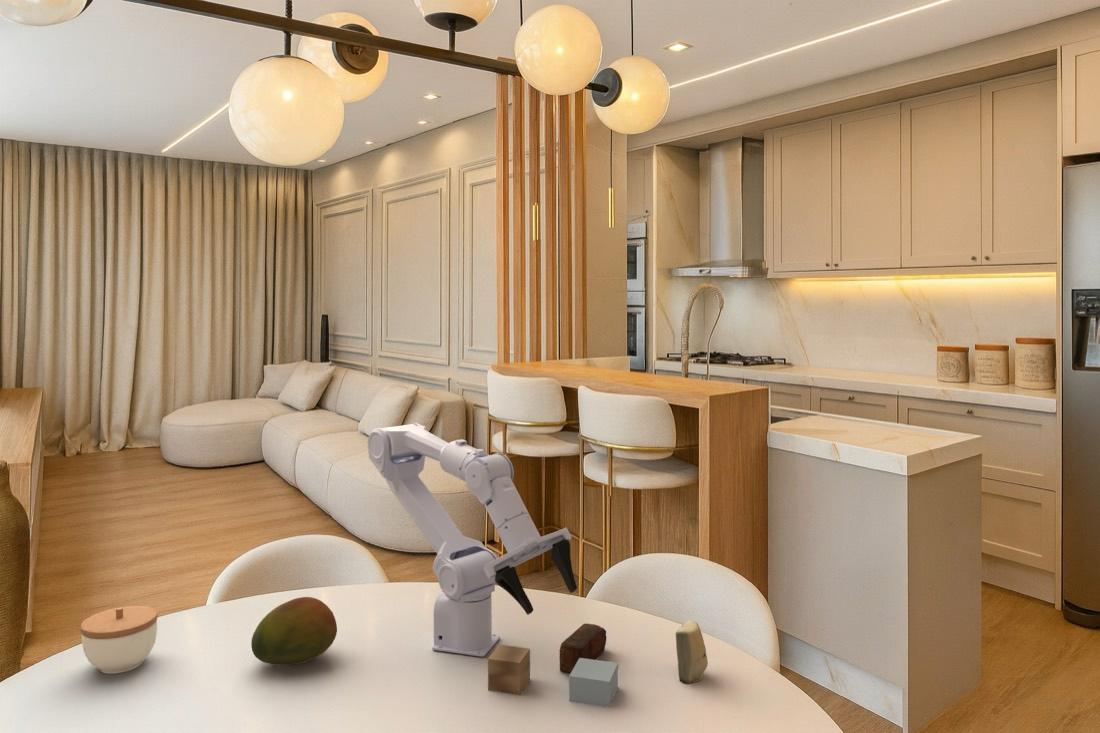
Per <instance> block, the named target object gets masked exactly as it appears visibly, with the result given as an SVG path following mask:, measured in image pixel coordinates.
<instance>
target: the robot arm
mask: <svg viewBox="0 0 1100 733" xmlns="http://www.w3.org/2000/svg"><path fill="white" fill-rule="evenodd" d="M467 443H468V442H467V440H465V439H463V438H462V439H456V440H453V441H450V442H447V441H445V440H444V439H442V438H441V437H439V436H437V435H435V434H433V433H431V432H430V431H428V428H427V427H426V425H421V424H419V423H417V422H414V423H410V424H404V425H403V424H402V425H397V426H390V427H387V426H386V427H376V428H373V429H371V431H370V433H369V435H368V438H367V451H368V453H367V454H368V458H369V460H370V462H371V463H372V464H373V465H374V467H375V468H376V469H377V471H378V473H379V474H380V475H381V477H382V478H384V479H385V481H386V483H387V485H388V487H389V489H390V491H391V492H392V494H393V495H394V497H395V498H396V499H397V501H398V502H399V503H400V505H401V506H402V507H403V509H404V510H405V511H406V513H407V514H408V515H409V517H410V519H411V520H412V521H413V523H414V524H415V526H416V527H417V528H418V530H419V531H420V533H421V534H422V535H423V536H424V538H425V539H426V541H427V542H428V544H429V545H430V546H431V547H432V549H433V550H434V552H435V553H436V554H437V555H436V556H435V558H434V561H433V564H432V572H433V573H434V575H435V576H436V578H437V580H438V581H437V582H438V585H439V587H440V589H441V591H440V592H439V593H438V594H437V597H436V598H435V602H434V606H433V645H432V646H431V649H432V650H433V651H437V652H438V651H439V652H444V653H446V652H447V653H451V654H452V653H453V654H460V655H468V656H472V657H473V656H474V657H481V658H482V657H485V656H486V655H487V654H488V653H489V651H490V650H491V649H492V648H493V647H494V646H495V645H496V643H497V642H498V641H499V640H500V639H501V636H500V635H501V634H496V633H493V632H492V631H493V628H492V627H493V626H492V625H493V623H492V622H493V621H492V618H493V617H492V615H493V614H492V609H493V608H492V603H493V602H492V597H493V596H492V593H493V592H495V591H496V590H495V589H496V588H495V587H496V586H495V585H498V586H499V587H500V588H502V589H503V590H504V591H505V592H507V593H508V594H509V595H510V596H511V597H512V598H513V599H514V600H515V601H516V602H517V603H518V604H519V605H520V607H521V608H522V609H523V610H524V612H525V613H526V615H527V616H528V615H530V614H532V613H533V612H534V607H533V605H532V603H531V601H530V599H529V598H528V595H527V593H526V591H525V589H524V587H523V585H522V583H521V581H520V578H519V575H518V572H517V569H516V566H519V565H521V564H522V563H525V562H527V561H530V560H531V559H534V558H535V557H537V556H540V555H542V554H544V553H546V552H549V551H550V553H551V555H550V557H549V558H550V559H551V561H552V562H553V564H554V566H555V567H556V568H557V570H558V571H559V573H560V575H561V577H562V579H563V581H564V583H565V585H566V588H567V590H568V591H569V592H570V594H572V593H574V592H576V590H578V586H577V584H576V579H575V576H574V573H573V566H572V559H571V543H570V541H571V540H572V539H573V536H572V535H571V533H570V531H569V530H568V527H564V528H561V529H559V530H556V531H554V532H551V533H549V534H545V535H543V536H541V535H540V533H539V531H538V528H537V527H536V525H535V523H534V521H533V519H532V517H531V515H530V513H529V511H528V509H527V507H526V505H525V504H524V502H523V499H522V497H521V495H520V494H519V492H518V489H517V488H516V486H515V483H514V482H513V480H514V475H515V474H514V473H515V472H514V466H513V463H512V461H511V459H510V458H509V457H508V456H507V455H505V454H504V453H503V452H496V453H493V454H489V453H487V452H486V450H485V449H482V448H476V447H473V446H471V445H469V444H467ZM426 457H427V458H430V459H432V460H434V461H438V462H439V465H440V468H441V470H443V472H445V473H447V474H449V475H451V476H453V477H455V478H457V479H458V480H461V481H462V482H465V483H466V484H465V487H466V489H467V490H468V492H470V493H471V494H473V495H475V497H476V498H477V499H478V501H479V503H481V504H482V505H484V507H485V509H486V511H487V513H488V515H489V517H490V519H491V522H492V523H493V525H494V528H495V530H496V531H497V532H496V533H497V534H498V536H499V538H500V540H501V542H502V544H503V546H504V548H505V550H506V552H507V553H504V554H503V555H502V556H499V557H498V555H497V553H495V552H494V551H493V550H491V549H489V548H487V547H486V546H485V545H484V544H483V543H482V541H481V540H477V539H474V538H471V537H468V536H465V535H464V534H463V533H462V532H461V531H460V529H459V527H458V526H457V525H456V523H455V522H454V521H453V520H452V518H451V517H450V516H449V514H448V513H447V512H446V510H445V509H444V508H443V506H442V505H441V504H440V502H439V501H438V500H437V499H436V498H435V496H434V495H433V494H432V492H431V491H430V490H429V488H428V487H427V486H426V484H425V483H424V482H423V481H422V480H421V477H419V475H420V474H421V473H422V472H423V470H424V469H425V461H426V460H425V459H426Z"/></svg>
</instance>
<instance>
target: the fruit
mask: <svg viewBox="0 0 1100 733" xmlns="http://www.w3.org/2000/svg"><path fill="white" fill-rule="evenodd" d="M337 633H338V626H337V620H336V617H335V615H334V612H333V611H332V610H331V609H330V607H329V606H328V605H327V604H326V603H324V601H322V600H320V599H318V598H316V597H311V596H303V597H297V598H293V599H291V600H288V601H285V602H284V603H281V604H280V605H278V606H276V607H275V608H273V609H272V610H271V611H270V612H268V613H267V614H266V615H265V616H264V617H263V618H262V619H261V621H260V622H259V624H258V625H257V626H256V628H255V630H254V632H253V634H252V637H251V643H250V645H251V650H252V653H253V655H254V657H255V658H257V660H258V661H260V662H262V663H264V664H268V665H273V666H290V665H297V664H301V663H306V662H308V661H311V660H314V659H315V658H317V657H320V656H321V655H322V654H324V653H325V652H326V651H327V650H329V648H330V647H331V646H332V645H333V643H334V641H335V639H336V638H337Z"/></svg>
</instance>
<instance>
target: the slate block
mask: <svg viewBox="0 0 1100 733" xmlns="http://www.w3.org/2000/svg"><path fill="white" fill-rule="evenodd" d="M568 683H569V684H568V688H569V689H568V693H569V694H568V702H574V703H580V704H585V705H592V706H598V707H606V708H610V707H611V704H612V702H613V700H614V697H615V695H616V692H617V691H618V688H619V686H618V685H619V663H618V662H615V661H614V662H613V661H605V660H598V659H597V660H592V659H585V658H579V660H578V661H577V663H576V665H575V667H574V668H573V670H572V672H571V674H570V673H569V676H568Z"/></svg>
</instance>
